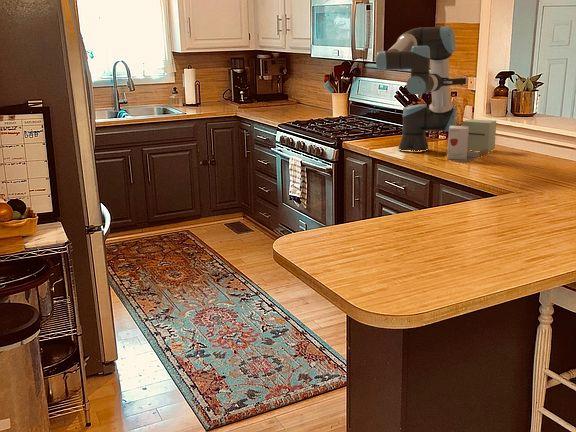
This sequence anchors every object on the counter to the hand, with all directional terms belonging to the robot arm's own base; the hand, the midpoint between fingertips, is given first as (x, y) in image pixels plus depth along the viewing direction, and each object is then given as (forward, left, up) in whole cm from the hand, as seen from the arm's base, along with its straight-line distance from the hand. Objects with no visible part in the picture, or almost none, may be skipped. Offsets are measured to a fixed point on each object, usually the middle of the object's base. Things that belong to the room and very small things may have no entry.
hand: (451, 79), depth 283 cm
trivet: (-5, +8, -38) cm, 39 cm away
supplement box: (-5, +9, -38) cm, 39 cm away
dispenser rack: (-14, +24, -38) cm, 47 cm away
